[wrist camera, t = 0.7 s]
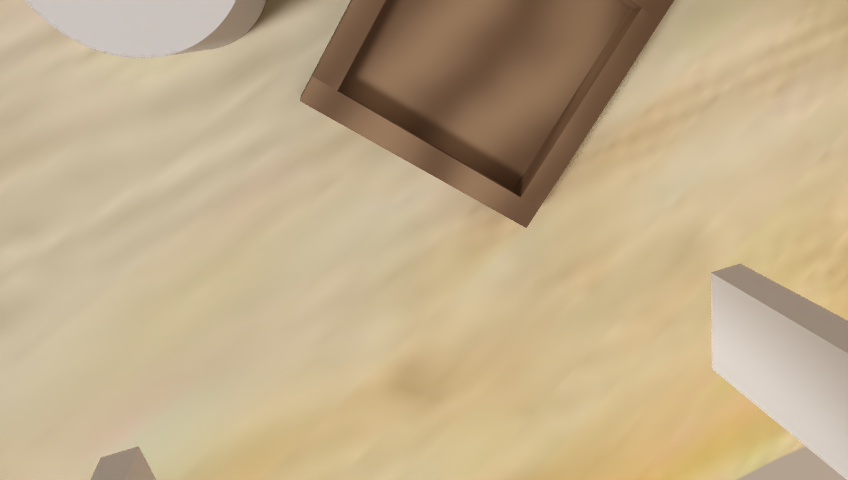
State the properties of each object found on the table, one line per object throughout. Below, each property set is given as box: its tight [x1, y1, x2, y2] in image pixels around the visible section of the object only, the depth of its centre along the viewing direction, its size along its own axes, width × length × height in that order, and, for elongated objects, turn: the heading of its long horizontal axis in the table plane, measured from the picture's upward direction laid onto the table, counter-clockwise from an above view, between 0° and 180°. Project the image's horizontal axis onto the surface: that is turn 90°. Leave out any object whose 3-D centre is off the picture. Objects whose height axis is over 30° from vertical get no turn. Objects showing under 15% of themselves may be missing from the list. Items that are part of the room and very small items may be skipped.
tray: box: [300, 0, 674, 228], centre depth 33 cm, size 16×16×2 cm
